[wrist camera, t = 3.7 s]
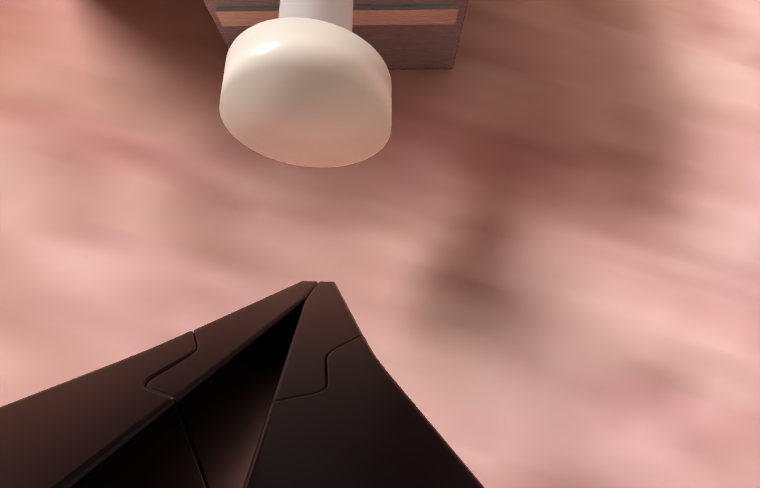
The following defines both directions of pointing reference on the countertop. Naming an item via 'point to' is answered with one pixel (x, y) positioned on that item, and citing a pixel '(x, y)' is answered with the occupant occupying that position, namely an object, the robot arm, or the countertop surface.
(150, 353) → the robot arm
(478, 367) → the countertop surface
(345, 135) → the knob
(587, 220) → the countertop surface
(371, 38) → the mount
